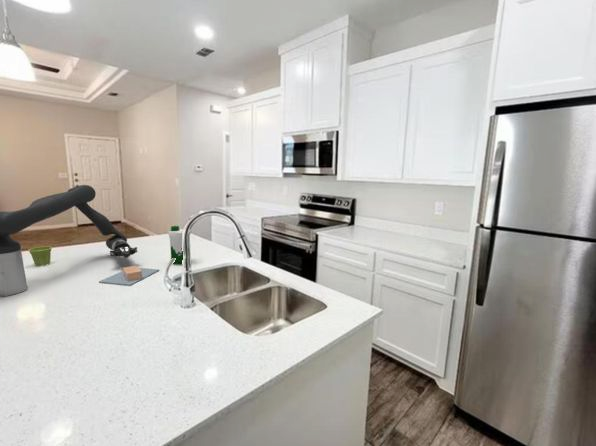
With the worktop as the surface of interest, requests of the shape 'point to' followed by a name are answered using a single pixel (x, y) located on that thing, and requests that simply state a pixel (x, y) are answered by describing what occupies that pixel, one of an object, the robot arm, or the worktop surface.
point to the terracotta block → (132, 273)
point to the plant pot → (41, 255)
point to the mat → (121, 279)
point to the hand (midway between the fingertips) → (127, 255)
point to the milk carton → (176, 244)
